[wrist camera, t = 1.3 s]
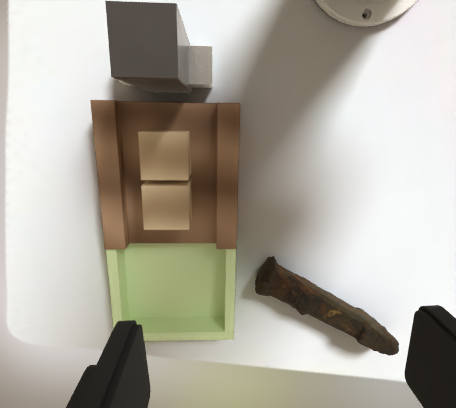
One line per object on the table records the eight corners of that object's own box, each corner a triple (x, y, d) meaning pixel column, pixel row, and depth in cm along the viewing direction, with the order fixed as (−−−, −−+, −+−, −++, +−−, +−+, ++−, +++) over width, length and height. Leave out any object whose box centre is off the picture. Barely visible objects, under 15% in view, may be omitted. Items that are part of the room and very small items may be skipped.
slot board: (104, 102, 30) (90, 100, 27) (237, 104, 31) (240, 103, 28) (115, 236, 34) (104, 249, 31) (234, 236, 35) (236, 249, 31)
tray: (115, 236, 34) (105, 248, 31) (234, 236, 35) (236, 247, 32) (122, 322, 37) (114, 341, 34) (231, 321, 38) (233, 339, 34)
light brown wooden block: (150, 177, 30) (141, 185, 27) (191, 177, 31) (188, 186, 27) (152, 216, 31) (143, 229, 28) (191, 216, 32) (189, 229, 28)
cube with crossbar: (126, 46, 29) (69, -1, 18) (212, 48, 29) (211, 4, 18) (129, 91, 30) (77, 75, 19) (212, 93, 30) (211, 79, 19)
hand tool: (249, 277, 36) (254, 300, 32) (269, 251, 36) (277, 270, 31) (370, 346, 40) (390, 375, 35) (391, 324, 39) (414, 351, 35)
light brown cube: (148, 129, 29) (138, 131, 25) (190, 130, 29) (187, 132, 26) (150, 172, 30) (140, 179, 26) (191, 172, 30) (188, 180, 27)
